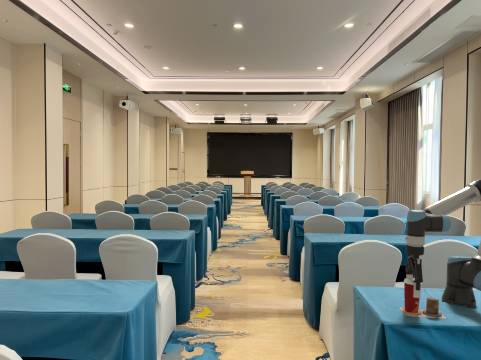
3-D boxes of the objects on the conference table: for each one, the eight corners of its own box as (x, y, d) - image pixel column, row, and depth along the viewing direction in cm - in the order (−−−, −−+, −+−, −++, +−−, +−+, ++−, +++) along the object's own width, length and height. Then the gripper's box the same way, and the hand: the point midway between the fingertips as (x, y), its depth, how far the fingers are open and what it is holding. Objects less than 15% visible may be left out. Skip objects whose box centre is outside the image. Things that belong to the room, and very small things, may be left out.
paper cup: (422, 314, 193) (423, 282, 192) (403, 312, 194) (405, 281, 194) (418, 309, 200) (420, 278, 200) (400, 307, 202) (402, 276, 201)
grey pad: (438, 311, 200) (438, 310, 199) (444, 317, 192) (444, 316, 192) (420, 310, 201) (420, 309, 201) (425, 316, 193) (425, 314, 193)
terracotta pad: (418, 310, 201) (418, 309, 201) (423, 315, 193) (423, 314, 193) (400, 308, 202) (400, 307, 202) (404, 314, 194) (404, 313, 194)
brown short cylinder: (436, 311, 198) (437, 297, 198) (439, 315, 193) (440, 301, 193) (424, 310, 199) (425, 297, 199) (427, 314, 194) (428, 300, 194)
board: (438, 313, 201) (438, 310, 201) (446, 321, 190) (446, 318, 190) (399, 310, 203) (399, 307, 203) (404, 318, 192) (404, 315, 192)
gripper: (399, 240, 209) (397, 284, 210) (413, 249, 184) (411, 300, 185) (416, 241, 208) (414, 286, 209) (432, 251, 183) (429, 302, 184)
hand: (412, 293), depth 197 cm, fingers open, 13 cm apart
